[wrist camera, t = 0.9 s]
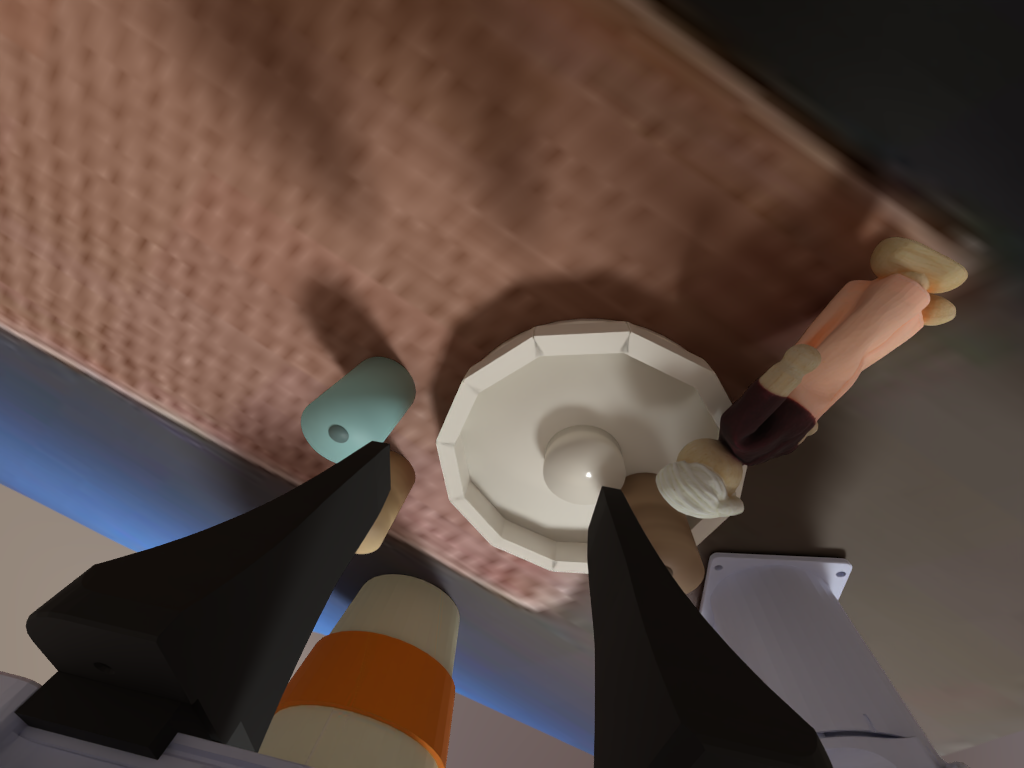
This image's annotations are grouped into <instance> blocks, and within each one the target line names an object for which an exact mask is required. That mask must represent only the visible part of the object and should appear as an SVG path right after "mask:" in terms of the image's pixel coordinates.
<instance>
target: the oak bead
mask: <svg viewBox="0 0 1024 768" xmlns="http://www.w3.org/2000/svg"><path fill="white" fill-rule="evenodd" d="M390 475H391V490H390V492H389V495H388V497H387V499H386V501H385V503H384V506H383V508H382V510H381V512H380V514H379V516H378V518H377V519H376V521H375V523H374V524H373V526H372V527H371V529H370V531H369V532H368V534H367V535H366V537H365V539H364V540H363V542H362V543H361V545H360V547H359V548H358V550H357V551H356V553H355V554H368V553H371V552H374V551H376V550H377V549H378V548H379V547H380V545H381V544H382V542H383V540H384V538H385V536H386V534H387V533H388V531H389V529H390V527H391V525H392V523H393V521H394V520H395V518H396V516H397V514H398V512H399V510H400V509H401V507H402V505H403V503H404V501H405V499H406V497H407V496H408V494H409V492H410V490H411V488H412V486H413V484H414V482H415V472H414V469H413V467H412V465H411V464H410V463H409V462H408V461H407V460H406V459H405V458H404V457H403V456H401V455H400V454H398V453H396V452H393V451H390Z"/></svg>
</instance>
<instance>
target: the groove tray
mask: <svg viewBox="0 0 1024 768" xmlns="http://www.w3.org/2000/svg"><path fill="white" fill-rule="evenodd" d="M731 405H732V403H731V401H730V399H729V397H728V396H727V394H726V392H725V390H724V388H723V386H722V385H721V383H720V381H719V379H718V377H717V375H716V374H715V372H714V371H713V370H712V369H711V367H710V366H709V365H708V364H707V362H706V361H705V360H704V359H702V358H700V357H698V356H696V355H694V354H692V353H690V352H688V351H686V350H685V349H684V348H683V347H681V346H680V345H679V344H677V343H675V342H673V341H672V340H670V339H668V338H667V337H665V336H663V335H661V334H659V333H656V332H654V331H651V330H649V329H647V328H644V327H641V326H637V325H633V324H631V323H629V322H625V321H614V320H607V319H572V320H564V321H557V322H553V323H549V324H545V325H541V326H537V327H533V328H532V329H530V330H527V331H525V332H522V333H520V334H518V335H516V336H514V337H513V338H511V339H509V340H507V341H505V342H504V343H502V344H501V345H500V346H498V347H497V348H496V349H494V350H493V351H492V352H490V353H489V354H488V355H487V356H486V357H485V358H484V359H483V360H482V361H480V362H478V363H477V364H475V365H474V366H472V367H471V368H470V369H469V370H468V372H467V374H466V375H465V377H464V379H463V380H462V382H461V385H460V387H459V389H458V392H457V394H456V396H455V399H454V401H453V403H452V405H451V408H450V410H449V412H448V415H447V417H446V419H445V422H444V424H443V426H442V428H441V431H440V433H439V435H438V438H437V440H436V446H437V450H438V454H439V459H440V463H441V467H442V472H443V476H444V480H445V485H446V489H447V493H448V498H449V500H450V502H451V503H452V504H453V505H454V506H455V507H456V508H457V509H458V510H459V511H460V513H461V514H462V515H463V516H464V517H465V518H466V519H467V520H468V521H469V522H470V523H471V524H472V525H473V526H474V527H475V528H476V529H477V531H478V532H479V533H480V534H481V535H482V536H483V537H484V538H485V539H486V540H487V541H488V542H489V543H490V544H491V545H492V546H494V547H496V548H499V549H501V550H503V551H506V552H508V553H510V554H513V555H515V556H517V557H520V558H522V559H524V560H527V561H529V562H531V563H533V564H536V565H538V566H540V567H543V568H545V569H547V570H550V571H553V572H570V573H588V564H587V541H588V527H589V524H590V521H591V518H592V515H593V512H594V509H595V506H596V503H597V500H598V496H599V493H600V490H601V487H602V486H606V487H611V488H616V489H621V488H622V486H623V484H624V482H625V477H627V476H629V475H632V474H636V473H645V472H646V473H655V474H658V473H659V471H660V470H661V469H663V468H664V467H665V466H666V465H668V464H673V463H674V462H676V461H677V457H678V454H679V453H680V451H681V450H682V448H683V447H684V446H686V445H687V444H688V443H690V442H692V441H694V440H697V439H702V438H710V439H715V440H718V438H719V431H720V419H721V416H722V414H723V413H724V412H725V411H726V410H727V409H728V408H729V407H730V406H731ZM742 468H743V475H742V480H741V482H740V484H739V486H738V487H737V489H736V491H735V492H736V496H737V497H739V498H740V497H741V492H742V488H743V483H744V479H745V474H746V470H747V465H743V466H742ZM685 515H686V514H685ZM728 517H729V516H727V517H717V518H711V519H708V518H696V517H693V516H689V515H686V518H687V520H688V523H689V526H690V529H691V532H692V535H693V537H694V540H695V543H696V546H697V545H699V544H700V543H701V542H702V541H703V540H704V539H705V538H706V537H707V536H708V535H709V534H711V533H712V532H713V531H714V530H715V529H716V528H717V527H718V526H719V525H720V524H721V523H723V522H724V521H725V520H726V519H727V518H728Z"/></svg>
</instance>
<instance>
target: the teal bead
mask: <svg viewBox="0 0 1024 768" xmlns="http://www.w3.org/2000/svg"><path fill="white" fill-rule="evenodd" d="M415 394H416V389H415V384H414V381H413V379H412V377H411V375H410V374H409V373H408V371H407V370H406V369H405V368H404V367H403V366H402V365H400V364H399V363H397V362H396V361H394V360H391V359H389V358H385V357H372V358H368V359H366V360H364V361H363V362H361V363H360V364H359V365H358V366H356V367H355V368H354V369H353V370H351V371H350V372H349V373H348V374H346V375H345V376H344V377H343V378H342V379H340V380H339V381H338V382H337V383H335V384H334V385H333V386H332V387H330V388H329V389H328V390H327V391H325V392H324V393H323V394H322V395H320V396H319V397H318V398H317V399H316V400H314V401H313V402H312V403H311V404H309V405H308V406H307V407H306V408H305V410H304V411H303V414H302V417H301V427H302V431H303V434H304V436H305V438H306V440H307V441H308V443H309V444H310V445H311V447H312V448H313V449H314V450H315V451H316V452H318V453H319V454H320V455H321V456H323V457H325V458H326V459H328V460H330V461H332V462H335V463H338V462H340V461H341V460H343V459H344V458H346V457H348V456H349V455H351V454H352V453H354V452H355V451H357V450H358V449H360V448H361V447H363V446H364V445H366V444H368V443H369V442H371V441H377V442H382V443H383V442H384V441H385V439H386V438H387V437H388V435H389V434H390V433H391V431H392V430H393V429H394V427H395V426H396V425H397V423H398V422H399V421H400V419H401V418H402V417H403V415H404V414H405V413H406V411H407V410H408V409H409V407H410V406H411V405H412V403H413V401H414V399H415Z"/></svg>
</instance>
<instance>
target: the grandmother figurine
mask: <svg viewBox="0 0 1024 768" xmlns="http://www.w3.org/2000/svg"><path fill="white" fill-rule="evenodd" d="M870 266H871V269H872V271H873V273H874V274H875V275H876V276H877V278H876V279H875V280H872V281H869V280H854V281H850V282H848V283H847V284H845V286H844V287H843V288H842V289H841V290H840V291H839V292H838V293H837V294H836V295H835V296H834V298H833V299H832V300H831V301H830V302H829V304H828V305H827V306H826V308H825V309H824V310H823V311H822V312H821V313H820V315H819V316H818V317H817V318H816V319H815V320H814V321H813V322H812V324H811V325H810V326H809V327H808V329H807V330H806V331H805V333H804V334H803V335H802V337H801V338H800V339H799V341H798V342H797V343H796V344H795V345H794V346H792V347H791V348H789V349H788V350H787V351H786V353H785V354H784V356H783V359H782V360H781V361H780V362H778V363H776V364H774V365H773V366H772V367H771V368H770V369H769V370H768V371H767V372H766V373H765V374H764V375H763V376H761V377H760V378H758V379H757V380H756V381H755V382H754V383H752V384H751V385H750V386H749V387H748V389H747V390H746V392H745V393H744V394H743V396H742V397H741V398H740V399H739V400H737V401H736V402H735V403H733V404H732V405H731V406H730V407H729V408H728V409H727V410H726V411H725V412H724V413H723V414H722V416H721V419H720V431H719V438H718V440H715V439H710V438H702V439H697V440H694V441H692V442H690V443H688V444H687V445H686V446H684V447H683V448H682V450H681V451H680V453H679V454H678V457H677V461H676V462H674V463H673V464H668V465H666V466H665V467H664V468H663V469H661V470H660V471H659V473H658V474H657V476H656V484H657V487H658V490H659V492H660V493H661V495H662V496H663V498H664V499H665V500H666V501H667V502H668V503H669V504H670V505H671V506H672V507H673V508H675V509H676V510H677V511H679V512H681V513H683V514H686V515H689V516H693V517H696V518H708V519H711V518H717V517H727V516H734V515H737V514H740V513H742V512H743V510H744V505H743V502H742V500H741V499H740V498H739V497H737V496H736V492H735V491H736V489H737V487H738V486H739V484H740V482H741V480H742V475H743V468H742V466H743V465H747V466H752V465H756V464H760V463H762V462H766V461H768V460H769V459H771V458H775V457H779V456H782V455H786V454H789V453H791V452H793V451H794V450H795V449H796V448H797V447H798V445H799V444H800V443H802V442H803V441H804V440H805V438H806V436H810V435H812V434H814V433H815V432H816V431H817V430H818V423H817V420H818V419H819V418H820V417H821V416H822V415H823V414H824V413H825V412H826V411H827V410H828V409H829V408H830V407H831V406H832V405H833V404H834V403H835V402H836V401H837V400H838V399H839V398H840V397H841V396H842V395H844V394H845V393H846V392H847V391H848V390H849V389H850V387H851V386H852V385H853V384H854V382H855V381H856V380H857V378H858V376H859V375H860V373H861V371H863V370H864V369H866V368H867V367H869V366H870V365H872V364H873V363H875V362H876V361H878V360H879V359H881V358H882V357H884V356H885V355H887V354H888V353H890V352H891V351H892V350H894V349H895V348H897V347H898V346H900V345H901V344H902V343H904V342H905V341H907V340H908V339H909V338H911V337H912V336H913V335H914V334H915V333H917V332H918V331H919V330H920V329H921V328H922V327H923V325H940V324H943V323H946V322H948V321H950V320H952V319H953V318H954V317H955V315H956V308H955V306H954V305H953V304H952V303H951V302H949V301H948V300H947V299H945V298H943V297H940V296H938V295H935V294H932V293H942V292H947V291H950V290H952V289H954V288H957V287H958V286H960V285H961V284H962V283H964V282H965V280H966V279H967V277H968V273H967V271H966V269H965V268H964V267H963V266H962V265H960V264H959V263H957V262H955V261H954V260H952V259H950V258H948V257H947V256H944V255H942V254H940V253H939V252H936V251H934V250H933V249H931V248H929V247H927V246H925V245H923V244H921V243H919V242H917V241H914V240H910V239H906V238H900V237H892V238H887V239H885V240H883V241H881V242H880V243H879V244H878V245H877V246H876V248H875V249H874V251H873V253H872V255H871V258H870Z"/></svg>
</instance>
